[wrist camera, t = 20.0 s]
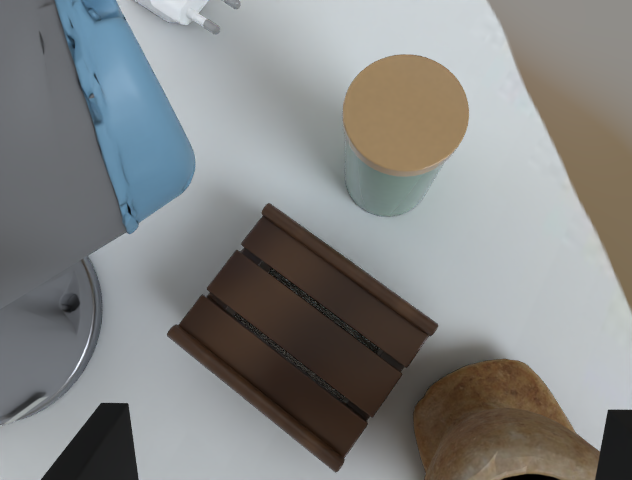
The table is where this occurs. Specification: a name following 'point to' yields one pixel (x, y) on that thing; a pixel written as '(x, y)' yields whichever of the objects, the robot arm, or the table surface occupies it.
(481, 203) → the table surface
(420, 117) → the canister
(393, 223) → the table surface
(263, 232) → the rack
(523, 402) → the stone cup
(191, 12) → the power adapter
